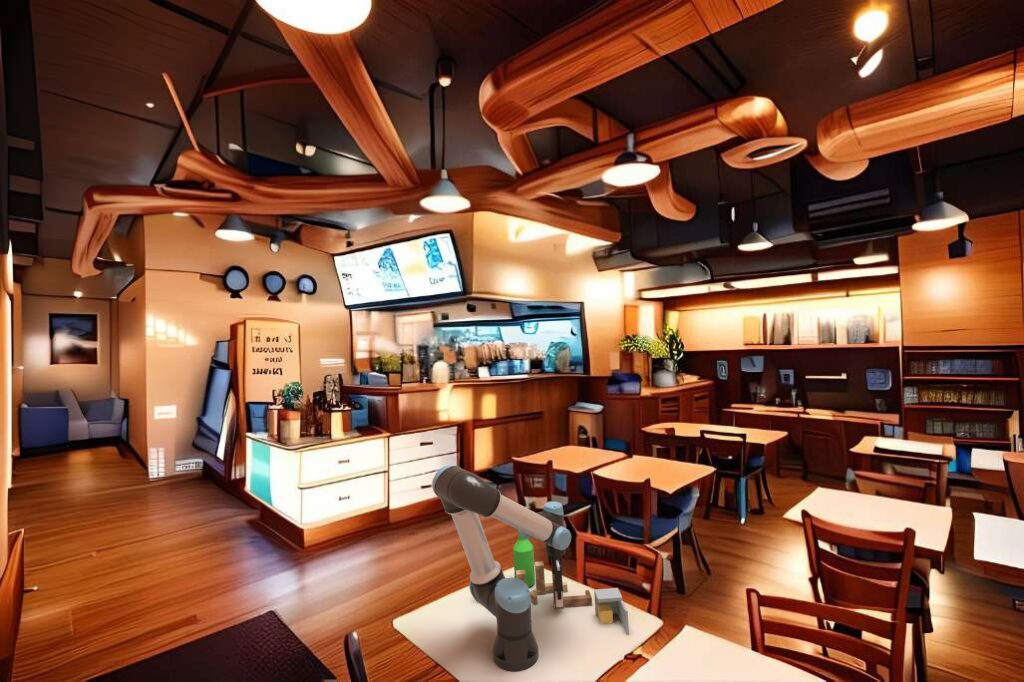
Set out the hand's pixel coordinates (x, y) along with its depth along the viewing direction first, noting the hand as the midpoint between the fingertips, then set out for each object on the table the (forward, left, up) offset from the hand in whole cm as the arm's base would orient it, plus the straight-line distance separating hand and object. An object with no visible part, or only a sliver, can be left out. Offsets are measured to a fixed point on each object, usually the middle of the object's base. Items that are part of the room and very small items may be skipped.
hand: (558, 601), depth 186 cm
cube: (+16, -11, -2) cm, 19 cm away
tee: (-12, +5, -2) cm, 13 cm away
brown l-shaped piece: (+6, +1, -2) cm, 6 cm away
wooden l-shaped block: (-1, +11, -2) cm, 11 cm away
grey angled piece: (+17, -14, -2) cm, 22 cm away
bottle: (-12, +19, -2) cm, 23 cm away
